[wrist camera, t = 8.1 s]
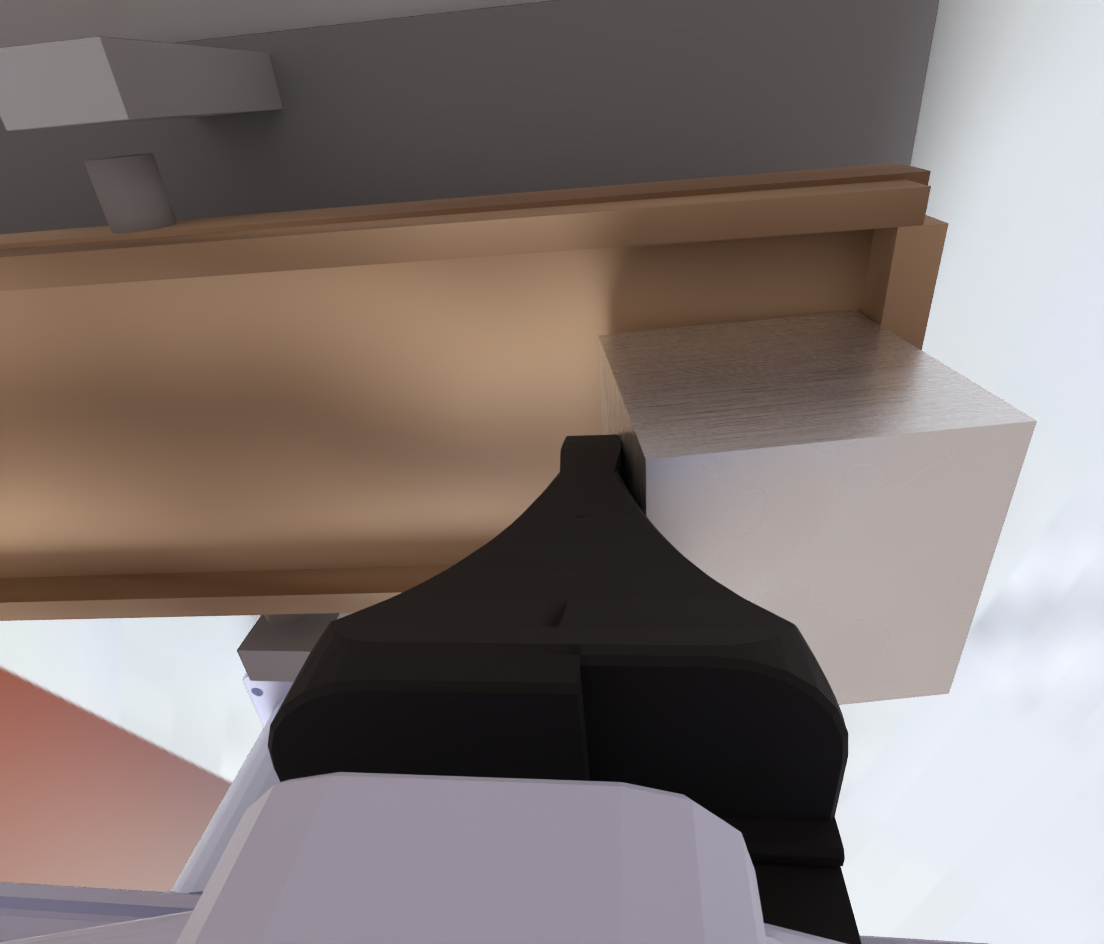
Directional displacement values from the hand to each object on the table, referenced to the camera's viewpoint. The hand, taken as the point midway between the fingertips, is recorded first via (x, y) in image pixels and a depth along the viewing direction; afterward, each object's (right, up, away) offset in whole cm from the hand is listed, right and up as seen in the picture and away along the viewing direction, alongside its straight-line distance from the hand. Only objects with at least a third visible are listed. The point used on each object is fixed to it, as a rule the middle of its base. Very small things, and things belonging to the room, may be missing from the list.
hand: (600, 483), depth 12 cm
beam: (-9, +1, +4) cm, 10 cm away
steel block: (+3, +1, +2) cm, 4 cm away
